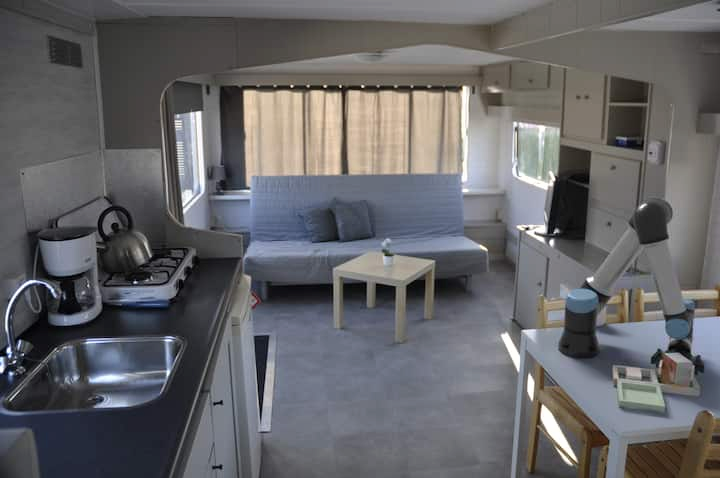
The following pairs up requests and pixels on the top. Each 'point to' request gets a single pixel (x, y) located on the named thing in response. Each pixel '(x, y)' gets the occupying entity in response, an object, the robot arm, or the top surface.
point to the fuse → (633, 374)
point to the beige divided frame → (653, 375)
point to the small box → (676, 369)
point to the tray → (640, 396)
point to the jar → (601, 317)
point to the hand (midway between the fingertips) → (675, 373)
